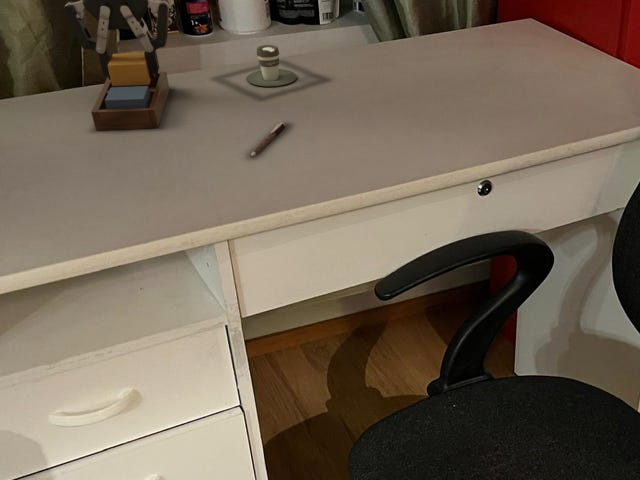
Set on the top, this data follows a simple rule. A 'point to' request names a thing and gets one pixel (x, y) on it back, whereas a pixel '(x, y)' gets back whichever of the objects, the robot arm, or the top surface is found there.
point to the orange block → (128, 69)
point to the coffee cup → (270, 69)
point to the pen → (269, 138)
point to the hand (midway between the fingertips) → (132, 76)
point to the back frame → (135, 116)
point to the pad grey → (128, 97)
